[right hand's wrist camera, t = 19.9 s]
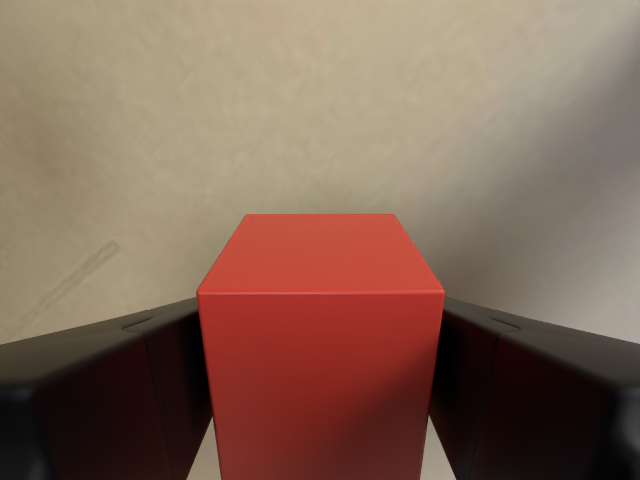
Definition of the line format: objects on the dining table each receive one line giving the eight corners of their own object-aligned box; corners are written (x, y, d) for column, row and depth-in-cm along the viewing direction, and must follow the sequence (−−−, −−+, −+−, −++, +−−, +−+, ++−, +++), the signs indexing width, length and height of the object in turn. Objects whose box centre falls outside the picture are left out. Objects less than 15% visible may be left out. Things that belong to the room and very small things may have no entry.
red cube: (255, 349, 13) (220, 485, 8) (245, 213, 11) (193, 291, 7) (385, 349, 13) (420, 485, 8) (394, 213, 11) (447, 290, 7)
